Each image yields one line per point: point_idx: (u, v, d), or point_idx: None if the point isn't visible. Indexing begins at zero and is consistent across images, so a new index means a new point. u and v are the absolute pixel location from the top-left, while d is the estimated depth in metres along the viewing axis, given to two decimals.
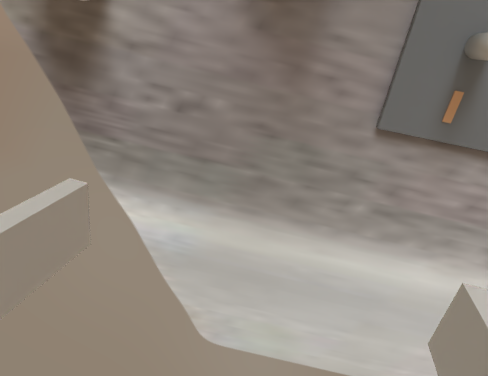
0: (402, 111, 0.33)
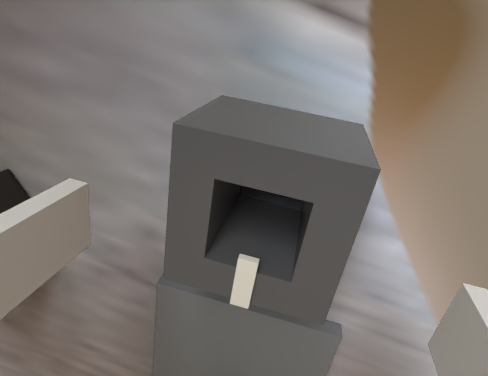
0: None
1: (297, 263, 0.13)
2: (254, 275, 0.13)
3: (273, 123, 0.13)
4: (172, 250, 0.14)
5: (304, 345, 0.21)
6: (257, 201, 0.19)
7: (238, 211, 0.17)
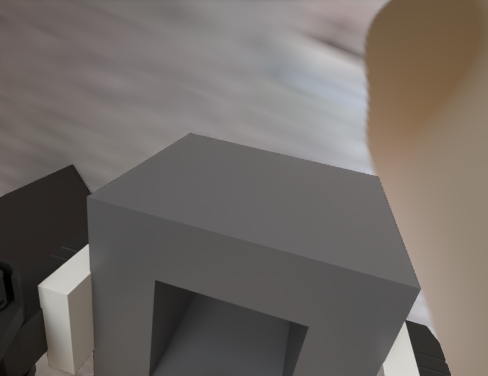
0: None
1: None
2: None
3: (251, 184, 0.09)
4: (103, 366, 0.09)
5: None
6: None
7: None
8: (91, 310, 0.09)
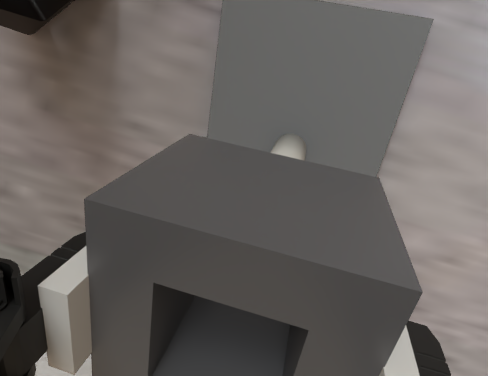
0: None
1: None
2: None
3: (251, 186, 0.09)
4: (101, 369, 0.09)
5: (388, 42, 0.19)
6: None
7: None
8: None
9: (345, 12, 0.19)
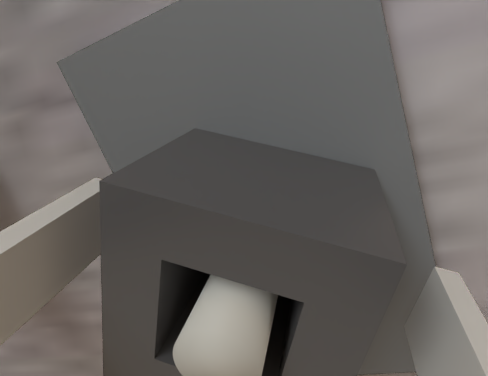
0: None
1: None
2: None
3: (252, 173, 0.10)
4: (112, 345, 0.10)
5: None
6: None
7: None
8: None
9: None
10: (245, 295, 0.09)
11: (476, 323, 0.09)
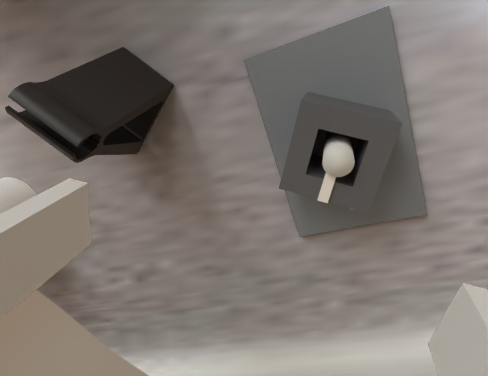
0: (309, 215, 0.33)
1: (357, 175, 0.24)
2: (333, 182, 0.25)
3: (344, 104, 0.26)
4: (287, 170, 0.26)
5: (367, 36, 0.26)
6: (322, 157, 0.30)
7: (314, 160, 0.29)
8: None
9: (328, 33, 0.27)
10: (345, 144, 0.24)
11: None
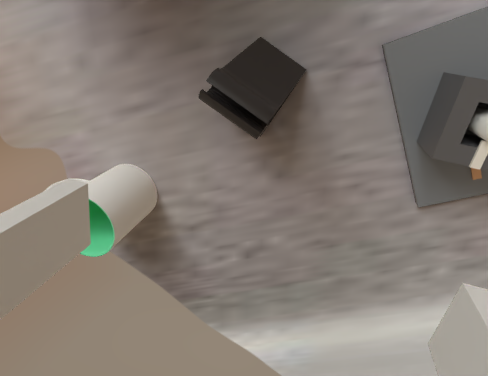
0: (431, 186, 0.36)
1: None
2: None
3: None
4: (442, 141, 0.29)
5: None
6: None
7: None
8: None
9: (470, 18, 0.30)
10: None
11: None
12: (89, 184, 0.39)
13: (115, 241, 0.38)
